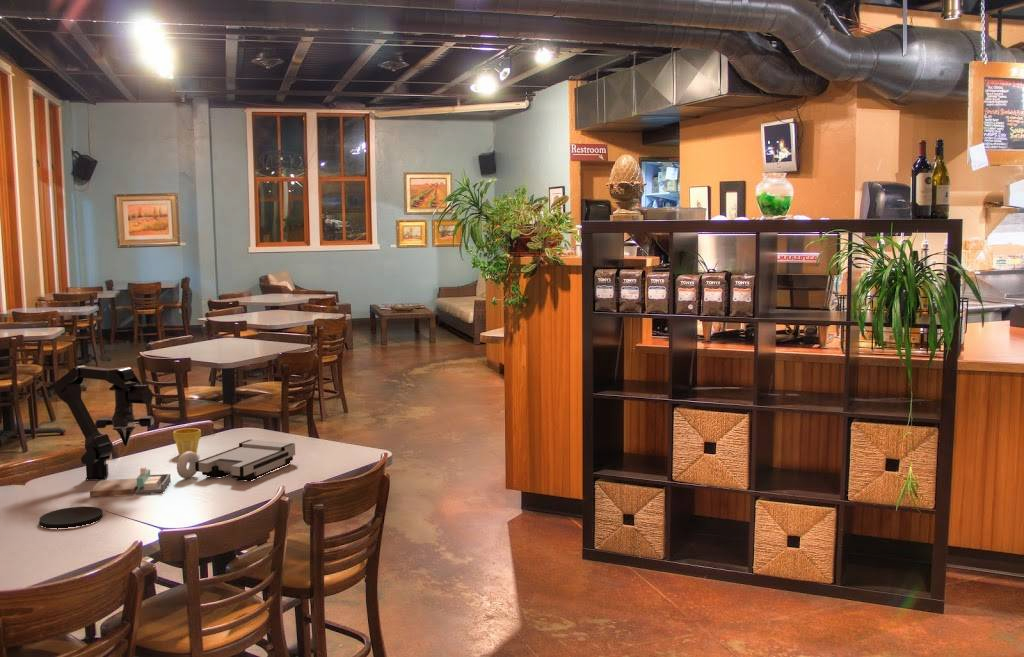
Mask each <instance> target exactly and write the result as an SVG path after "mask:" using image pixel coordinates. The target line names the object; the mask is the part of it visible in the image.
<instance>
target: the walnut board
mask: <svg viewBox="0 0 1024 657" xmlns="http://www.w3.org/2000/svg"><path fill="white" fill-rule="evenodd" d="M137 478H138V477H137ZM137 478H136V477H135V478H121V479H119V478H118V479H102V480H99V481H98V482H97V483H96V484H95V485H94V486H93V488H91V490H89V498H94V497H93V496H103V497H117V496H118V495H121V496H134V495H135V492H136V490H137V489H138V488H139V487H137ZM115 495H117V496H115Z"/></svg>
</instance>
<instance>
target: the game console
mask: <svg viewBox="0 0 1024 657" xmlns="http://www.w3.org/2000/svg"><path fill="white" fill-rule="evenodd" d="M294 456H296V443H295V442H293V443H292V442H283V441H282V442H281V441H271V440H262V439H261V440H260V439H259V440H258V439H247V440H245V441H242V442H239V443H238V446H236V447H233V448H231V449H228V450H225V451H222V452H219V453H217V454H214V455H212V456H208V457H205V458H204V459H201V460H200V459H199V461H197V462H195V469H196V471H197V472H198V473H199V472H200V473H201V474H202V475H203V476H206V477H207V476H210V477H209V478H212V477H223V476H225V477H227V476H226V475H228V474H230V475H231V478H232V479H236V481H239V480H247V481H246V482H248V481H251V480H253V479H256V478H257V477H259V476H262V475H264V474H266V473H268V472H270V471H273V470H275V469H277V468H280V467H282V466H285V465H287V464H289V463H290V464H291V462H292V461H293V460H294ZM228 476H229V475H228ZM223 478H224V477H223ZM256 480H257V479H256ZM251 482H252V481H251Z"/></svg>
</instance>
